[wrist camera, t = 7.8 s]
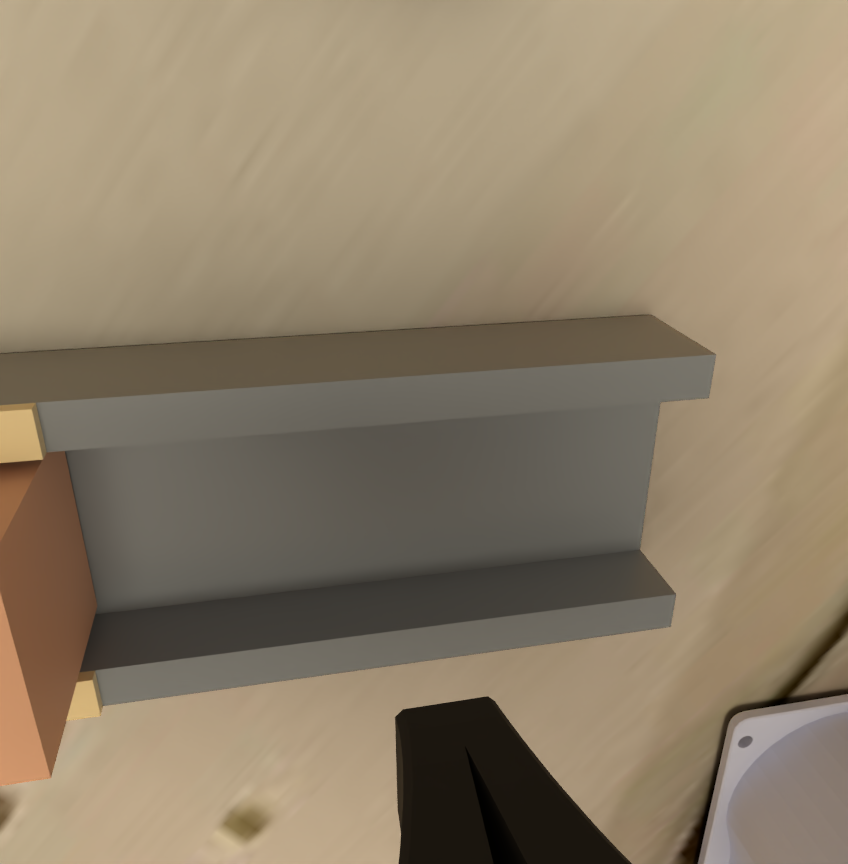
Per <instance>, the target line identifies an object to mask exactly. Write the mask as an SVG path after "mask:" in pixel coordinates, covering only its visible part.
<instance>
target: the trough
mask: <svg viewBox="0 0 848 864" xmlns="http://www.w3.org/2000/svg"><path fill="white" fill-rule="evenodd" d="M715 358H716V354H714V353H713V352H711V351H710V350H708V349H706V348H705V347H703V346H701V345H700V344H698V343H697V342H695V341H693V340H692V339H690V338H688V337H687V336H685V335H683V334H682V333H680V332H679V331H677V330H675V329H674V328H672V327H670V326H669V325H667V324H666V323H664V322H662V321H661V320H659V319H657V318H656V317H654V316H652V315H640V316H624V317H607V318H590V319H574V320H557V321H540V322H523V323H507V324H490V325H473V326H456V327H440V328H423V329H406V330H389V331H373V332H356V333H339V334H322V335H306V336H289V337H272V338H255V339H239V340H222V341H205V342H189V343H172V344H155V345H138V346H122V347H105V348H88V349H71V350H55V351H38V352H21V353H4V354H0V463H8V462H20V461H32V460H43V459H44V457H45V455H46V453H47V452H58V451H65V454H66V459H67V464H68V469H69V473H70V478H71V483H72V488H73V492H74V497H75V502H76V507H77V511H78V516H79V521H80V526H81V530H82V535H83V540H84V545H85V549H86V554H87V559H88V564H89V568H90V573H91V578H92V583H93V587H94V592H95V597H96V602H97V609H96V613H95V617H94V620H93V624H92V628H91V632H90V635H89V639H88V643H87V646H86V650H85V654H84V657H83V661H82V665H81V668H80V672H79V676H78V679H77V683H76V687H75V691H74V694H73V698H72V702H71V705H70V709H69V713H68V716H67V720H66V721H69V720H76V719H83V718H90V717H97V716H101V712H102V707H103V706H106V705H114V704H121V703H128V702H135V701H142V700H149V699H157V698H164V697H171V696H178V695H185V694H193V693H200V692H207V691H214V690H221V689H228V688H236V687H243V686H250V685H257V684H264V683H271V682H279V681H286V680H293V679H300V678H307V677H315V676H322V675H329V674H336V673H343V672H350V671H358V670H365V669H372V668H379V667H386V666H393V665H401V664H408V663H415V662H422V661H429V660H437V659H444V658H451V657H458V656H465V655H472V654H480V653H487V652H494V651H501V650H508V649H515V648H523V647H530V646H537V645H544V644H551V643H559V642H566V641H573V640H580V639H587V638H594V637H602V636H609V635H616V634H623V633H630V632H637V631H645V630H652V629H659V628H666V627H671V622H672V616H673V610H674V604H675V598H676V593H675V592H674V591H673V590H672V589H671V587H670V586H669V585H668V584H667V582H666V581H665V580H664V579H663V578H662V576H661V575H660V574H659V573H658V571H657V570H656V569H655V568H654V567H653V565H652V564H651V563H650V562H649V560H648V559H647V558H646V557H645V555H644V554H643V553H642V552H641V551H640V545H641V537H642V530H643V523H644V516H645V509H646V502H647V494H648V487H649V480H650V473H651V466H652V459H653V451H654V444H655V437H656V430H657V423H658V416H659V408H660V402H667V401H680V400H692V399H704V398H709V394H710V388H711V382H712V376H713V370H714V364H715Z"/></svg>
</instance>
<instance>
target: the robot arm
mask: <svg viewBox="0 0 848 864" xmlns="http://www.w3.org/2000/svg"><path fill="white" fill-rule="evenodd" d="M395 724H396V761H397V798H398V814H399V821H400V828H401V846H400V857H399V864H632V863H631V862H630V861H629V860H628V859H627V858H626V857H625V856H624V855H623V854H622V853H621V852H620V851H619V850H618V849H617V848H616V847H615V846H614V845H613V844H612V843H611V842H610V841H609V840H608V839H607V838H606V836H605V835H604V834H603V833H602V832H601V831H600V830H599V829H598V828H597V827H596V826H595V825H594V824H593V822H592V821H591V820H590V819H589V818H588V817H587V816H586V814H585V813H584V812H583V811H582V810H581V809H580V808H579V807H578V805H577V804H576V803H575V802H574V801H573V800H572V799H571V797H570V796H569V795H568V794H567V793H566V792H565V791H564V790H563V788H562V787H561V786H560V785H559V784H558V782H557V781H556V780H555V779H554V778H553V776H552V775H551V774H550V773H549V772H548V770H547V769H546V768H545V767H544V766H543V764H542V763H541V762H540V761H539V759H538V758H537V757H536V756H535V754H534V753H533V752H532V751H531V749H530V748H529V747H528V745H527V744H526V743H525V742H524V740H523V739H522V738H521V736H520V735H519V734H518V732H517V731H516V730H515V729H514V727H513V726H512V724H511V723H510V722H509V720H508V719H507V718H506V716H505V715H504V714H503V712H502V711H501V709H500V708H499V707H498V705H497V704H496V702H495V701H493V700H492V699H491V698H490V697H481V698H475V699H468V700H462V701H455V702H449V703H442V704H436V705H429V706H423V707H416V708H410V709H403V710H402V711H401V712H400V713H399V714H398V715H397V716H396V717H395ZM698 864H848V694H846V695H840V696H833V697H827V698H821V699H815V700H809V701H803V702H797V703H791V704H785V705H778V706H772V707H766V708H760V709H754V710H748V711H743V712H740V713H738V714H736V715H734V716H733V718H732V719H731V720H730V722H729V725H728V729H727V733H726V738H725V742H724V747H723V752H722V756H721V761H720V765H719V770H718V774H717V779H716V783H715V788H714V792H713V797H712V802H711V806H710V811H709V815H708V820H707V824H706V829H705V833H704V838H703V843H702V847H701V852H700V856H699V861H698Z"/></svg>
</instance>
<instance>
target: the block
mask: <svg viewBox="0 0 848 864" xmlns="http://www.w3.org/2000/svg"><path fill="white" fill-rule="evenodd" d="M96 609H97V602H96V597H95V592H94V587H93V583H92V578H91V573H90V568H89V564H88V559H87V554H86V549H85V545H84V540H83V535H82V530H81V526H80V521H79V516H78V511H77V507H76V502H75V497H74V492H73V488H72V483H71V478H70V473H69V469H68V464H67V459H66V454H65V451H58V452H47V453H46V455H45V457H44V459H43V460H32V461H20V462H8V463H0V786H3V785H9V784H16V783H22V782H29V781H35V780H42V779H48V778H51V775H52V772H53V768H54V764H55V761H56V757H57V753H58V749H59V746H60V742H61V738H62V735H63V731H64V727H65V724H66V720H67V716H68V713H69V709H70V705H71V702H72V698H73V694H74V691H75V687H76V683H77V679H78V676H79V672H80V668H81V665H82V661H83V657H84V654H85V650H86V646H87V643H88V639H89V635H90V632H91V628H92V624H93V620H94V617H95V613H96Z"/></svg>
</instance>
